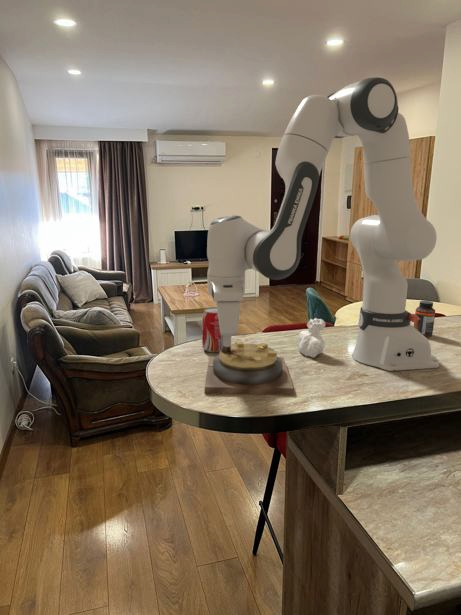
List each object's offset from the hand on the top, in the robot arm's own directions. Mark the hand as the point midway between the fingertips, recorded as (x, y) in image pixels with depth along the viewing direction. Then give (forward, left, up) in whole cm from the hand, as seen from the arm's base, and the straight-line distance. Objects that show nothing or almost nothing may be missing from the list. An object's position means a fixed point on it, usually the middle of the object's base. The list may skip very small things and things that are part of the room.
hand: (226, 342), depth 106 cm
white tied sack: (-24, -18, -9) cm, 32 cm away
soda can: (+4, -20, -9) cm, 22 cm away
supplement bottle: (-64, -37, -9) cm, 75 cm away
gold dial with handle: (-5, 0, -5) cm, 7 cm away
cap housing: (-5, 0, -9) cm, 10 cm away
